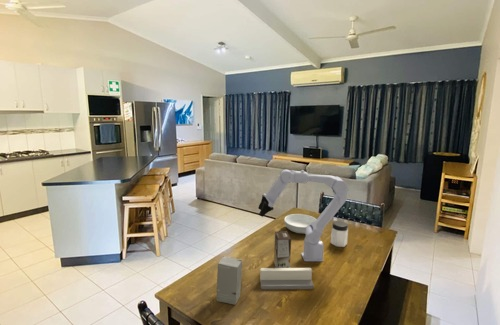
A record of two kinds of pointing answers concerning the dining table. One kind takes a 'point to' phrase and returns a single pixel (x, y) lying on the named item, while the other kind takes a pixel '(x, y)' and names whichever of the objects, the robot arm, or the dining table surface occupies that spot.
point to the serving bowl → (298, 222)
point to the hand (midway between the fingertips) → (260, 212)
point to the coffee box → (282, 249)
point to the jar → (339, 233)
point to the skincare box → (229, 280)
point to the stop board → (286, 278)
